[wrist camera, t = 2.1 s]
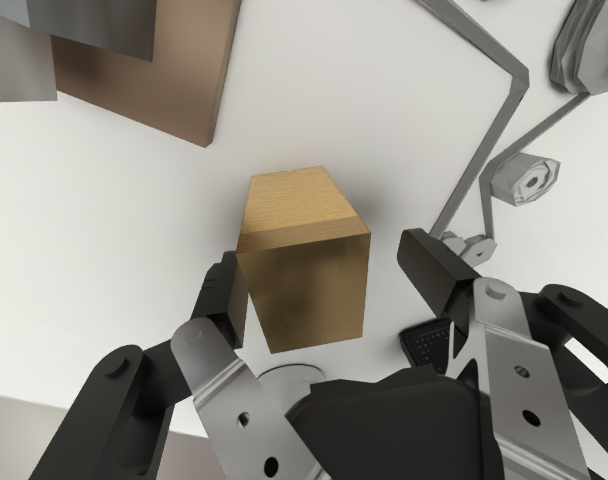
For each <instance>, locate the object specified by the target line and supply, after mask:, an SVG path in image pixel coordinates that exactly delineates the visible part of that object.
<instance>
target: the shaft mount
mask: <svg viewBox="0 0 608 480" xmlns="http://www.w3.org/2000/svg"><path fill="white" fill-rule="evenodd" d="M240 5H241V0H0V102H19V101H58V100H57V91H56V90H58V91H61V92H63V93H66V94H68V95H71V96H73V97H76V98H79V99H81V100H84V101H86V102H89V103H91V104H94V105H96V106H99V107H102V108H104V109H107V110H109V111H112V112H114V113H117V114H119V115H122V116H125V117H127V118H130V119H132V120H135V121H137V122H140V123H143V124H145V125H148V126H150V127H153V128H155V129H158V130H160V131H163V132H166V133H168V134H171V135H173V136H176V137H178V138H181V139H183V140H186V141H189V142H191V143H194V144H196V145H199V146H201V147H204V148H206V147H207V146H208V145H209V144H210V143H212V138H213V134H214V129H215V124H216V119H217V114H218V110H219V105H220V100H221V95H222V91H223V86H224V81H225V76H226V71H227V67H228V62H229V57H230V52H231V48H232V43H233V38H234V33H235V28H236V24H237V19H238V14H239V9H240Z"/></svg>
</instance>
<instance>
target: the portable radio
mask: <svg viewBox="0 0 608 480" xmlns="http://www.w3.org/2000/svg"><path fill="white" fill-rule="evenodd" d="M451 323H452V320H451V319H450V317H449V318H443V319H440V320H437V321H434V322H431V323H428V324H425V325H422V326H419V327H416V328H414V329H411V330H408V331H405V332H402V333H401V334H400V335H399V336H400V341H401V346H402V349H403V351H404V353H405V355H406V357H407V359H408V361H409V363H410V365H411V367H417V366H423V365H429V364H432V366H433V368H434V369H435V371H436V373H437V374H440V375H444V376H445V374H446V371H447V368H448V362H449V343H450V326H451Z"/></svg>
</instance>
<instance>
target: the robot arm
mask: <svg viewBox="0 0 608 480" xmlns="http://www.w3.org/2000/svg"><path fill="white" fill-rule="evenodd" d="M397 261H398V264H399V266H400V267H401V269H402V270H403V271H404V273H405V274H406V275H407V277H408V278H409V280H410V281H411V282H412V284H413V285H414V286H415V288H416V289H417V291H418V292H419V293H420V295H421V296H422V297H423V299H424V300H425V302H426V303H427V304H428V306H429V307H430V308H431V310H432V311H433V312H434V314H435V315H436V317H437V318H438V319H443V318H449V317H450V319H451V320H452V323H451V326H450V343H449V362H448V368H447V371H446V374H445V376H444V375H440V374H437V373H436V371H435V369H434V368H433V366H432V364H429V365H423V366H417V367H411V368H405V369H401V370H399V371H397V372H396V373H394V374H392V375H390V376H388V377H386V378H384V379H382V380H380V381H379V382H376V383H368V382H359V381H351V380H343V379H338V380H332V381H326V382H325V379H324V375H323V373H322V372H321V371H320V370H318V369H316V368H313V367H310V366H303V365H294V366H285V367H280V368H277V369H274V370H271V371H269V372H267V373H265V374H264V375H262V376H261V377H259V378H258V379H257V378H256V377H255V376H254V374H253V373H252V372H251V370H250V369H249V367H248V366H247V365H246V364H245V362H244V361H243V360H242V359H241V360H240V359H239V357H238V356H237V355H236V353H235V352H234V349H240V348H242V347H243V338H244V329H245V320H246V312H247V303H248V294H249V291H248V288H247V285H246V282H245V279H244V277H243V274H242V271H241V268H240V265H239V263H238V260H237V257H236V250H234V251H226V252H224V254H223V258H222V261H221V263H215V264H214V265H213V266H212V267H211V268H210V269H209V270H208V271H207V273H206V276H205V279H204V282H203V285H202V287H201V290H200V293H199V296H198V299H197V301H196V304H195V307H194V310H193V313H192V316H191V318H190V320H189V321H187V322H185V323H184V324H183V325H181V326H180V327H179V328H178V329H177V330H176V332H175V333H174V335H173V337H172V338H171V339H170V340H168V341H165V342H163V343H161V344H158V345H156V346H154V347H151V348H149V349H146V350H144V351H143V350H142V349H141V348H140V347H139V346H137V345H126V346H122V347H120V348H118V349H116V350H114V351H112V352H110V353H109V354H108V355H106V356H105V357H104V358H103V359H102V360H101V361H100V362H99V363H98V364H97V365H96V366H95V367H94V369H93V370H92V372H91V373H90V375H89V377H88V379H87V380H86V382H85V384H84V385H83V387H82V389H81V391H80V392H79V394H78V396H77V397H76V399H75V401H74V403H73V404H72V406H71V408H70V409H69V411H68V413H67V414H66V416H65V418H64V420H63V421H62V423H61V425H60V427H59V428H58V430H57V432H56V433H55V435H54V437H53V438H52V440H51V442H50V444H49V445H48V447H47V449H46V450H45V452H44V454H43V456H42V457H41V459H40V461H39V462H38V464H37V466H36V468H35V470H34V471H33V473H32V474H31V476H30V478H29V479H28V480H156V477H157V473H158V469H159V465H160V461H161V457H162V453H163V449H164V445H165V442H166V438H167V433H168V430H169V426H170V422H171V418H172V414H173V410H174V407H175V404H176V403H178V402H180V401H182V400H184V399H186V398H188V397H190V396H191V395H193V397H194V400H193V403H194V406H195V409H196V411H197V413H198V416H199V418H200V420H201V422H202V424H203V426H204V429H205V431H206V433H207V435H208V437H209V440H210V442H211V444H212V446H213V448H214V450H215V453H216V455H217V457H218V459H219V461H220V463H221V466H222V468H223V470H224V472H225V474H226V477H227V479H228V480H605V479H604V478H602V477H601V476H599V475H598V474H597V473H595V472H594V471H592V470H591V469H589V468H588V467H587V466H586V463H585V459H584V456H583V453H582V450H581V447H580V443H579V440H578V437H577V434H576V431H575V428H574V424H573V421H572V418H571V416H570V412H569V410H571V412H572V413H573V414H574V415H575V416H576V418H577V419H579V421H580V422H581V423H582V424H583V426H584V427H585V428H586V429H587V430H588V431H589V432H590V434H591V435H592V436H593V437H594V438H595V439H596V440H597V441H598V443H599V444H600V445H601V446H602V447H603V448H604V450H605V451H606V452H607V453H608V383H607V384H605V383H604V382H603V381H602V380H601V379H600V378H599V377H597V376H596V375H595V374H594V373H593V372H592V371H591V370H590V369H589V368H588V367H587V366H586V365H585V364H583V363H582V362H581V361H580V360H579V359H578V358H577V357H576V356H575V355H574V354H573V353H572V352H571V351H569V350H568V349H567V348H566V347H565V346H564V345H565V344H566V343H567V342H568V341H569V340H570V339H571V338H573V337H574V338H575V339H576V340H577V341H578V342H580V343H581V344H582V345H583V346H584V347H585V348H586V349H588V350H589V351H590V352H591V353H592V354H593V355H595V356H596V357H597V358H598V359H599V360H600V361H601V362H603V363H604V364H605V365H606V367H607V368H608V309H607V308H605V307H604V306H602V305H601V304H599V303H598V302H597V301H595V300H594V299H592V298H591V297H589V296H588V295H586V294H584V293H582V292H580V291H578V290H576V289H573V288H571V287H568V286H564V285H559V284H549V285H546V286H544V287H543V289H542V290H541V291H540V292H539V293H538V294H537V293H528V292H518V291H516V290H515V289H514V288H513V287H512V286H510V285H509V284H507V283H505V282H503V281H500V280H498V279H494V278H489V277H482V276H481V275H479V274H478V273H477V272H476V271H475V270H474V269H473V268H472V267H470V266H469V265H468V264H467V263H466V262H465V261H464V260H463V259H461V258H460V257H459V256H457V254H456V253H455V252H454V251H452V250H451V249H450V248H449V247H448V246H447V245H446V244H445V243H443V242H442V241H440V240H438V239H436V238H434V237H430V236H429V235H428V234H427V233H426V232H425V231H424V230H423V229H421V228H416V229H408V230H404V231H403V232H402V235H401V240H400V244H399V248H398V252H397Z"/></svg>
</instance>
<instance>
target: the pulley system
mask: <svg viewBox="0 0 608 480" xmlns="http://www.w3.org/2000/svg"><path fill="white" fill-rule="evenodd" d="M422 1H423V2H424V3H426V4H427V5H428V6H429V7H431V8H432V9H433V10H434V11H435V12H437V13H438V14H439V15H440V16H441V17H443V18H444V19H445V20H446V21H447V22H449V23H450V24H451V25H452V26H453V27H455V28H456V29H457V30H458V31H459V32H461V33H462V34H463V35H464V36H466V37H467V38H468V39H469V40H470V41H472V42H473V43H474V44H475V45H476V46H478V47H479V48H480V49H481V50H482V51H484V52H485V53H486V54H487V55H488V56H490V57H491V58H492V59H493V60H494V61H496V62H497V63H498V64H499V65H501V66H502V67H503V68H504V69H505V70H507V71H508V72H509V73H510V74H511V75H513V79H512V84H511V89H510V94H509V96H508V98H507V99H506V101H505V103H504V105H503V106H502V108H501V110H500V112H499V113H498V115H497V117H496V119H495V120H494V122H493V124H492V126H491V127H490V129H489V131H488V133H487V134H486V136H485V138H484V140H483V141H482V143H481V145H480V147H479V148H478V150H477V152H476V154H475V156H474V157H473V159H472V161H471V163H470V164H469V166H468V168H467V170H466V171H465V173H464V175H463V177H462V178H461V180H460V182H459V184H458V185H457V187H456V189H455V191H454V192H453V194H452V196H451V198H450V199H449V201H448V203H447V205H446V206H445V208H444V210H443V212H442V214H441V215H440V217H439V219H438V221H437V222H436V224H435V226H434V228H433V229H432V231H431V233H430V235H429V236H430V237H434V238H436V239H438V240H440V241H442V242H443V243H445V244H446V245H447V246H448V247H449V248H450V249H451V250H452V251H454V252H455V253H456V254H457V256H459V257H460V258H461V259H463V260H464V261H465V262H466V263H467V264H468V265H469V266H470V267H472V268H474V267H476V266H478V265H479V264H481V263H483V262H485V261H487V260H489V259H490V257H491V255H492V254H493V252H494V250H495V248H496V246H497V244H496V243H495V239H494V228H493V216H492V204H491V196H493V197H496V198H498V199H500V200H502V201H505V202H507V203H509V204H511V205H514V206H516V207H517V206H520V205H523V204H527V203H530V202H533V201H535V200H536V199H538V198H539V197H541V196H542V195H543V194H545V193H546V192H548V191H549V190H550V188H551V187H552V186H553V184H554V183H555V182H556V180H557V176H558V172H559V167H560V163H561V162H558V161H556V160H553V159H549V158H544V157H539V156H534V155H529V154H524V153H520V152H519V151H521V150H522V149H523V148H525V147H526V146H527V145H528V144H530V143H531V142H532V141H534V140H535V139H536V138H537V137H539V136H540V135H541V134H543V133H544V132H545V131H546V130H548V129H549V128H550V127H552V126H553V125H554V124H555V123H557V122H558V121H559V120H561V119H562V118H563V117H565V116H566V115H567V114H568V113H570V112H571V111H572V110H574V109H575V108H576V107H577V106H579V105H580V104H581V103H583V102H584V101H585V100H586V99H588V98H589V97H590V96H594V95H597V94H601V93H604V92H608V0H577V2H576V4H575V6H574V8H573V10H572V12H571V14H570V16H569V18H568V20H567V22H566V24H565V26H564V28H563V30H562V32H561V33H560V35H559V37H558V39H557V41H556V43H555V49H554V56H553V62H552V69H551V75H550V79H551V80H553V81H554V82H555V83H557V84H559V85H561V86H563V87H565V88H567V89H568V90H569V91H570V93H571V94H572V95H575V94H579V93H580V94H579V95H578V96H576V97H575V98H574V99H572V100H571V101H570V102H569V103H567V104H566V105H564V106H563V107H562V108H560V109H559V110H558V111H556V112H555V113H554V114H552V115H551V116H550V117H548V118H547V119H546V120H544V121H543V122H542V123H540V124H539V125H538V126H536V127H535V128H534V129H532V130H531V131H530V132H528V133H527V134H526V135H524V136H523V137H522V138H520V139H519V140H518V141H516V142H515V143H514V144H512V145H511V146H510V147H508V148H507V149H506V150H504V151H503V152H502V153H500V154H499V155H498V156H496V157H495V158H494V159H492V160H491V161H490V162H489V163H488V165H487V166H486V168H485V169H484V171H483V172H482V174H481V175H480V177H479V184H480V192H481V200H482V208H483V216H484V224H485V232H486V238H485V237H482V236H476V237H472V238H469V239H468V240H466V241H465V242H464V240H463V238H462V237H457V236H455V235H454V234H453V233H451V232H450V231H449V232H445V233H444V231H445V230H446V228H447V226H448V224H449V223H450V221H451V219H452V218H453V216H454V214H455V212H456V211H457V209H458V207H459V206H460V204H461V202H462V201H463V199H464V197H465V195H466V194H467V192H468V190H469V189H470V187H471V185H472V183H473V182H474V180H475V178H476V177H477V175H478V173H479V172H480V170H481V168H482V166H483V165H484V163H485V161H486V160H487V158H488V156H489V154H490V153H491V151H492V149H493V148H494V146H495V144H496V143H497V141H498V139H499V137H500V136H501V134H502V132H503V131H504V129H505V127H506V125H507V124H508V122H509V120H510V119H511V117H512V115H513V114H514V112H515V110H516V108H517V107H518V105H519V103H520V102H521V100H522V98H523V96H524V95H525V93H526V91H527V90H528V88H529V71H528V68H526V67H525V66H524V65H523V64H522V63H521V62H520V61H519V60H518V59H517V58H515V57H514V56H513V55H512V54H511V53H510V52H509V51H508V50H507V49H506V48H504V47H503V46H502V45H501V44H500V43H499V42H498V41H497V40H496V39H495V38H493V37H492V36H491V35H490V34H489V33H488V32H487V31H486V30H485V29H484V28H482V27H481V26H480V25H479V24H478V23H477V22H476V21H475V20H474V19H473V18H471V17H470V16H469V15H468V14H467V13H466V12H465V11H464V10H463V9H462V8H460V7H459V6H458V5H457V4H456V3H455V2H454V1H453V0H422Z"/></svg>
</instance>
